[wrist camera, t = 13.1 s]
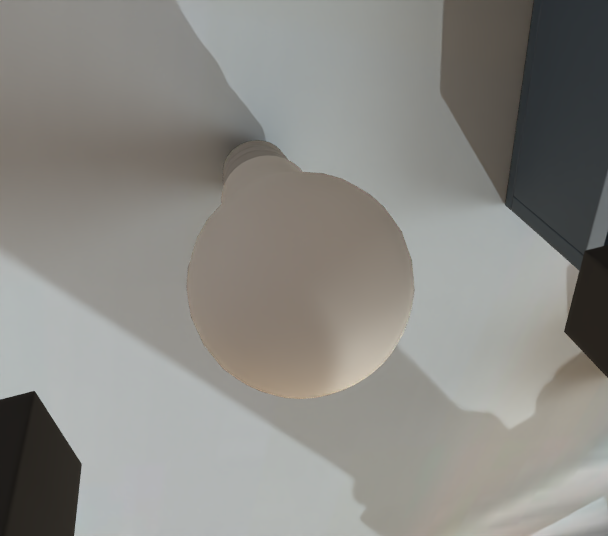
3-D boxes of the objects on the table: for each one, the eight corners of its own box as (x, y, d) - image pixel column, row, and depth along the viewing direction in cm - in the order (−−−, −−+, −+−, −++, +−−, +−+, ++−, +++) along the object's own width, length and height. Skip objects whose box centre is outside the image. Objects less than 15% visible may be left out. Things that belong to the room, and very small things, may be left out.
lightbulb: (149, 204, 21) (158, 435, 12) (207, 54, 18) (271, 215, 10) (285, 245, 24) (372, 458, 15) (354, 121, 21) (506, 292, 12)
